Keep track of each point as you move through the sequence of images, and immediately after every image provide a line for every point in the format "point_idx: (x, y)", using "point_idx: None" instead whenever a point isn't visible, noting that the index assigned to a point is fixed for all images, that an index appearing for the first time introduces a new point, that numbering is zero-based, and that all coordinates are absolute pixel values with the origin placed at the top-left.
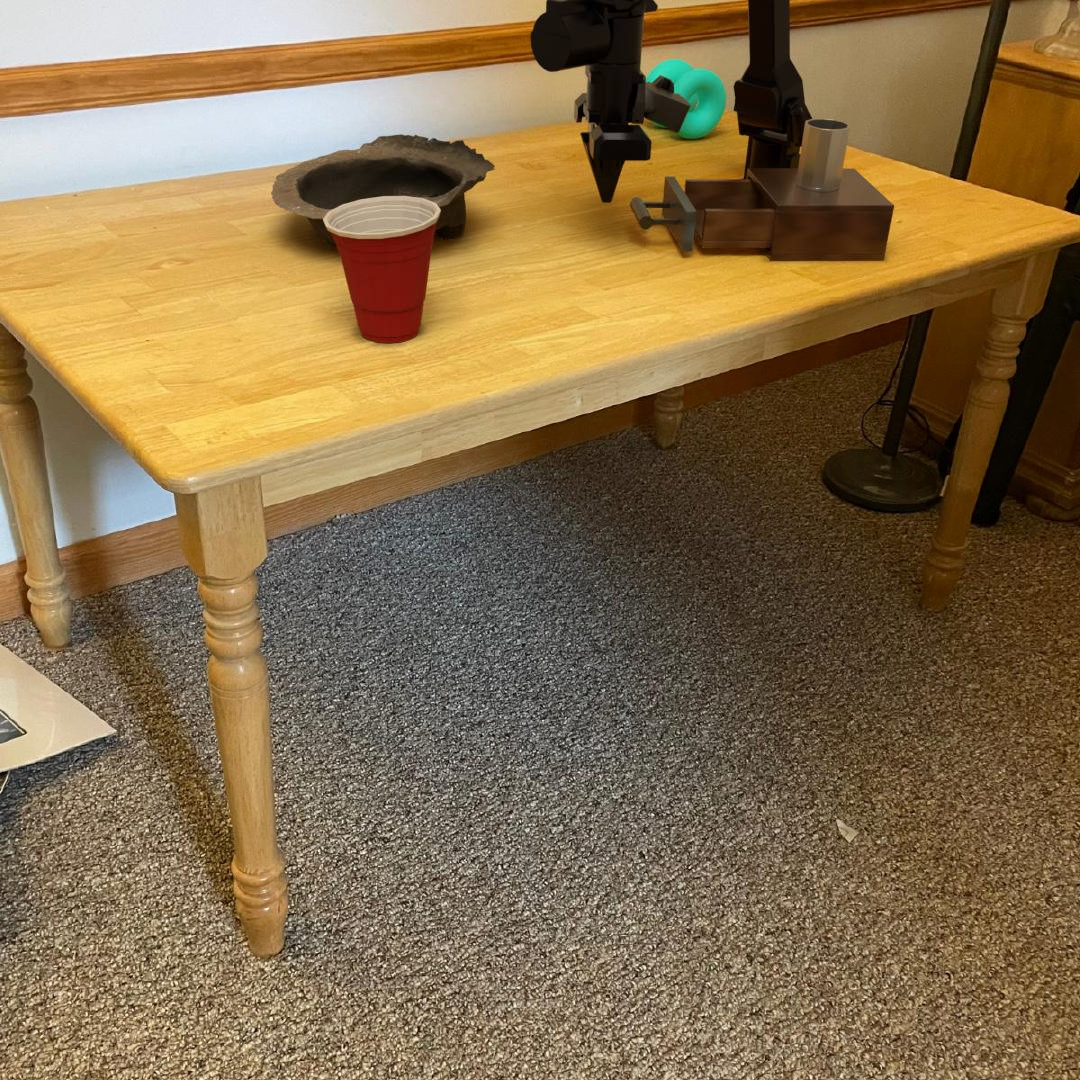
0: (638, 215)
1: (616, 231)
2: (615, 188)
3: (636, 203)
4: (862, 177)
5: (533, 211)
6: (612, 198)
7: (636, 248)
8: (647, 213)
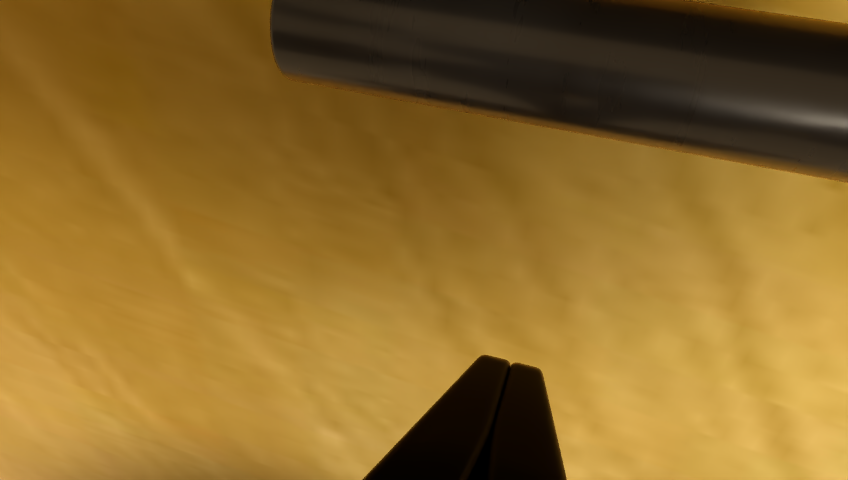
0: (751, 164)
1: None
2: (562, 476)
3: (447, 98)
4: None
5: (142, 336)
6: (544, 391)
7: None
8: (824, 106)
